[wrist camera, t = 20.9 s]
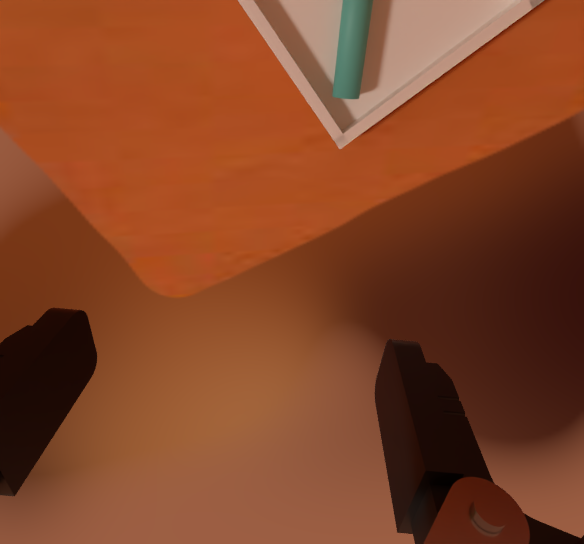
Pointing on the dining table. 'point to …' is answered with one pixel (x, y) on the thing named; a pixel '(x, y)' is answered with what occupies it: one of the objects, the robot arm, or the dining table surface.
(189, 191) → the dining table surface
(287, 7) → the tray
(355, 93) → the green rounded rod
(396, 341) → the robot arm
